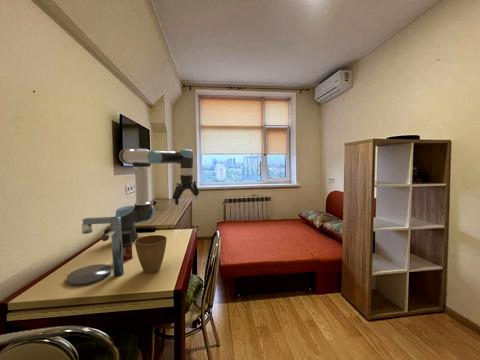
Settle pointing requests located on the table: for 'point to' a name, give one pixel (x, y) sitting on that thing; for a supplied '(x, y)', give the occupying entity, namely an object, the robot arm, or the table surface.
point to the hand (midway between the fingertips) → (186, 207)
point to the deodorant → (127, 245)
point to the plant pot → (151, 252)
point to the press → (101, 270)
